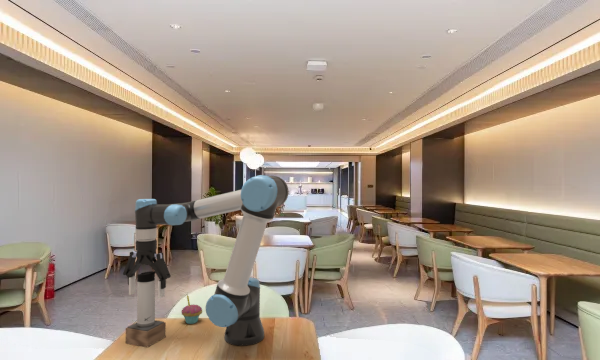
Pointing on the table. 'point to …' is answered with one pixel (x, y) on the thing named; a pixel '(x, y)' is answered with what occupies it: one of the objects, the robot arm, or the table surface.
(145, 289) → the travel mug
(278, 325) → the table surface
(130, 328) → the walnut stand
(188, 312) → the cupcake
